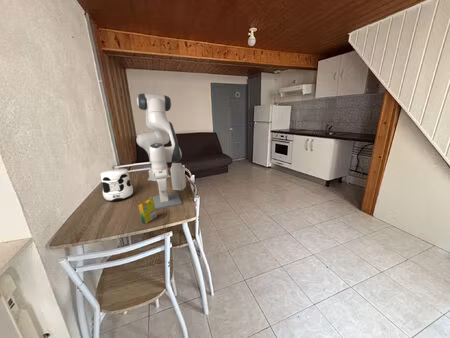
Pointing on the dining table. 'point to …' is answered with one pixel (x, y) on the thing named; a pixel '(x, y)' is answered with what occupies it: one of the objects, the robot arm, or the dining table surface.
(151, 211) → the crayon box
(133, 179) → the dining table surface
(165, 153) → the robot arm
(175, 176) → the milk carton
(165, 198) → the cream block
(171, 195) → the mat
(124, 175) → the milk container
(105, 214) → the dining table surface
